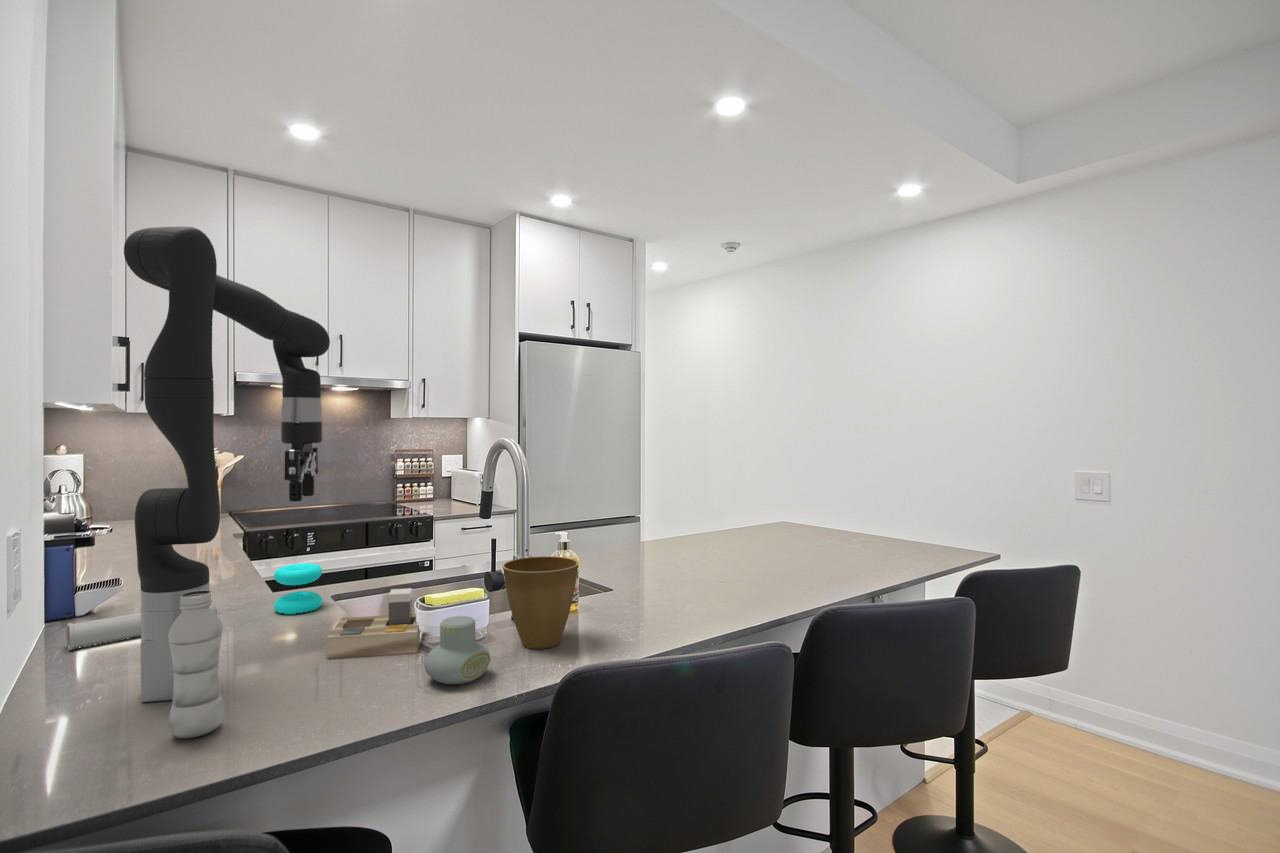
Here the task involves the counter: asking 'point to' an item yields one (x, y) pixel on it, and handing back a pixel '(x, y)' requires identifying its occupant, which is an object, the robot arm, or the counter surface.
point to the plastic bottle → (195, 667)
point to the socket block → (372, 637)
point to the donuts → (301, 599)
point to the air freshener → (457, 653)
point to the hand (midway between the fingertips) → (302, 498)
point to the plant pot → (540, 597)
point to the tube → (106, 630)
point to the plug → (400, 606)
